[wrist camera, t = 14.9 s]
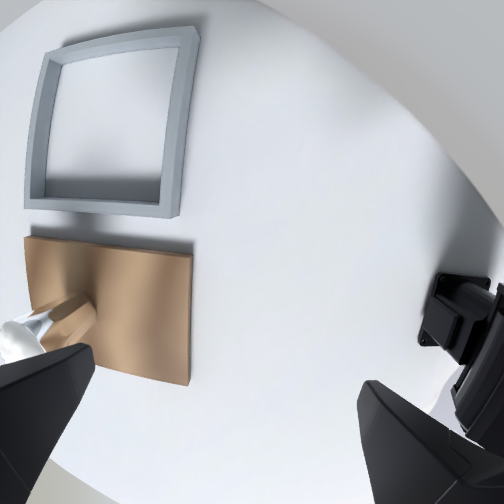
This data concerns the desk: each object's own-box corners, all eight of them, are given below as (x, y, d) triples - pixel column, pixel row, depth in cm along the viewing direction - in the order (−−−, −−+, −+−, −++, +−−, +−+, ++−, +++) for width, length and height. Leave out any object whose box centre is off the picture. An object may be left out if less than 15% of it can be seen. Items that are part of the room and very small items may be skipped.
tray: (200, 37, 18) (194, 25, 16) (178, 215, 21) (170, 218, 19) (57, 59, 18) (45, 52, 16) (38, 206, 21) (23, 208, 19)
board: (193, 254, 21) (189, 258, 20) (190, 379, 24) (187, 386, 23) (30, 235, 22) (23, 237, 21) (44, 341, 24) (39, 345, 23)
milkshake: (63, 266, 21) (-24, 310, 11) (111, 306, 21) (34, 373, 12) (50, 305, 22) (-25, 356, 12) (93, 342, 22) (28, 411, 13)
